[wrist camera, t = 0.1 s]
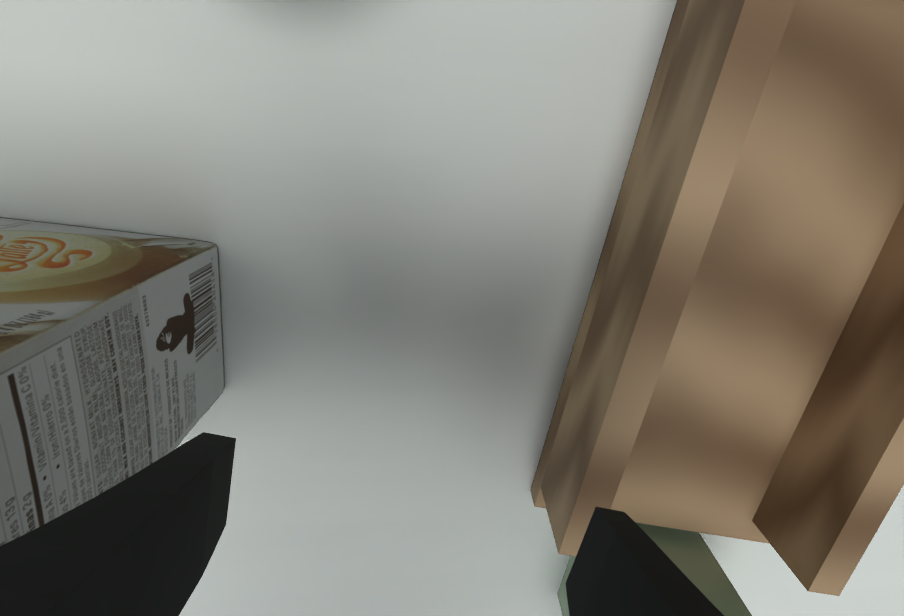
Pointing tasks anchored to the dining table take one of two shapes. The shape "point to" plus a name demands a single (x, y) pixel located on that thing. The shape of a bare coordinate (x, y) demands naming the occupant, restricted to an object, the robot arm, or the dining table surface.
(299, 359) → the dining table surface
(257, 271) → the dining table surface
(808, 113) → the cradle
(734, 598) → the bottle
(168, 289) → the coffee box
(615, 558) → the robot arm
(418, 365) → the dining table surface
